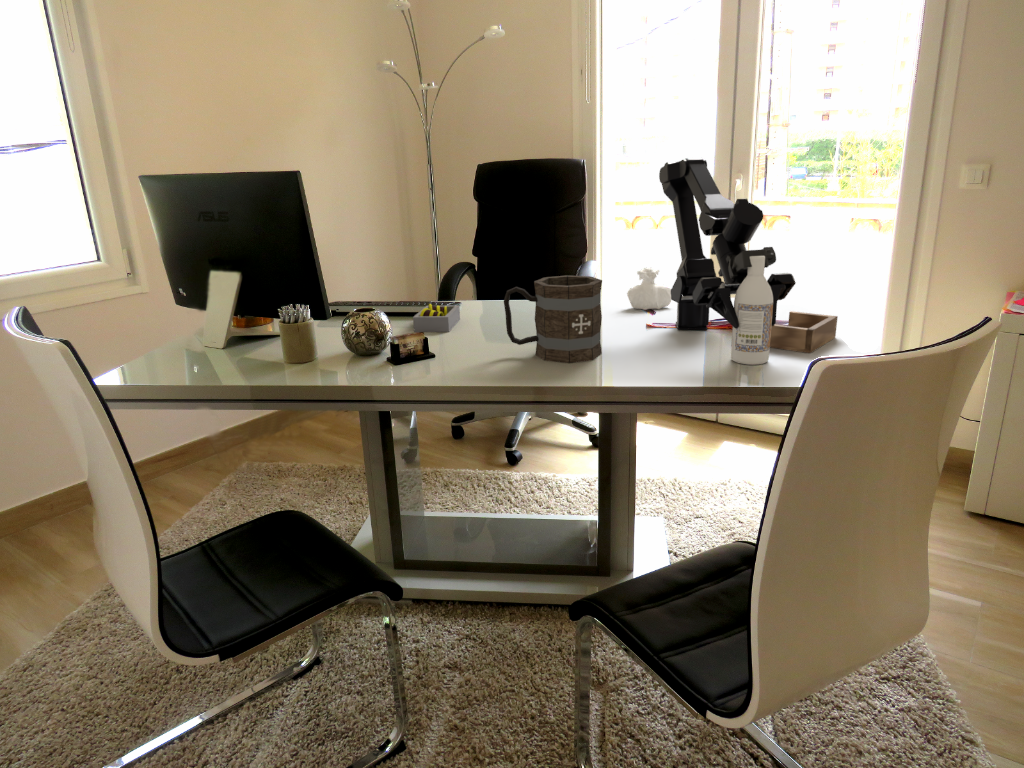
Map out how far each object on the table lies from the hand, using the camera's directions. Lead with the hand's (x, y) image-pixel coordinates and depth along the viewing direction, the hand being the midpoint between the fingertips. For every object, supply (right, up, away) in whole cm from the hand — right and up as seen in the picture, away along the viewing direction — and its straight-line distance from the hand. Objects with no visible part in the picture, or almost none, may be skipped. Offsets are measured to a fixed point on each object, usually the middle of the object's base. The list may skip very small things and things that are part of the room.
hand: (755, 325), depth 136 cm
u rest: (+14, -2, +16) cm, 21 cm away
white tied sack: (-10, +9, +54) cm, 55 cm away
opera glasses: (-64, +3, +40) cm, 76 cm away
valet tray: (-64, +3, +41) cm, 76 cm away
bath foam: (0, -7, +4) cm, 7 cm away
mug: (-37, -5, +12) cm, 39 cm away
